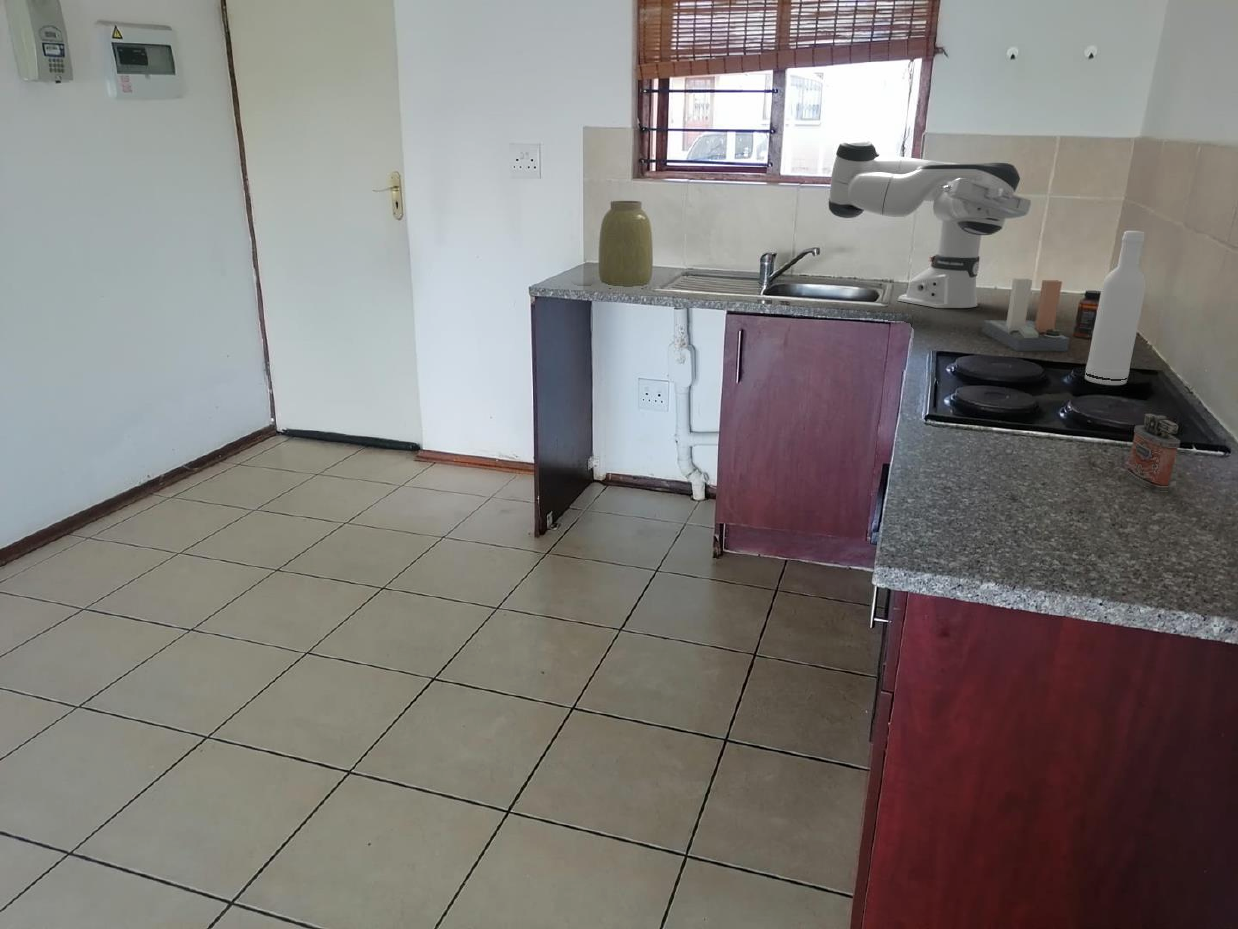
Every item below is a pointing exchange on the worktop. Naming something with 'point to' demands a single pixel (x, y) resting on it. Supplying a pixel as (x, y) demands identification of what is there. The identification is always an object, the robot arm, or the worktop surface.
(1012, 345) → the platform
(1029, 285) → the cream rectangular block
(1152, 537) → the worktop surface
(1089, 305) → the supplement bottle
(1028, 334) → the rocker
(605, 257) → the vase
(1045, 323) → the tall salmon pillar
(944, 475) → the worktop surface
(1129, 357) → the bottle
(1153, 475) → the lighter
